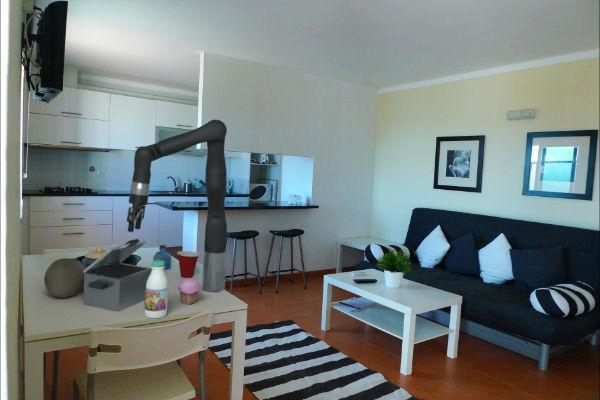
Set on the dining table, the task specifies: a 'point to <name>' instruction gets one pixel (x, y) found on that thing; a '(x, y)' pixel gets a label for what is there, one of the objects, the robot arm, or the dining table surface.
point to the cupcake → (189, 290)
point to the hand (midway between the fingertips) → (134, 230)
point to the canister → (92, 258)
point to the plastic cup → (187, 263)
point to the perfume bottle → (163, 256)
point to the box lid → (115, 255)
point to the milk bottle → (156, 291)
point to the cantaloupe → (64, 277)
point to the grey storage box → (116, 286)
